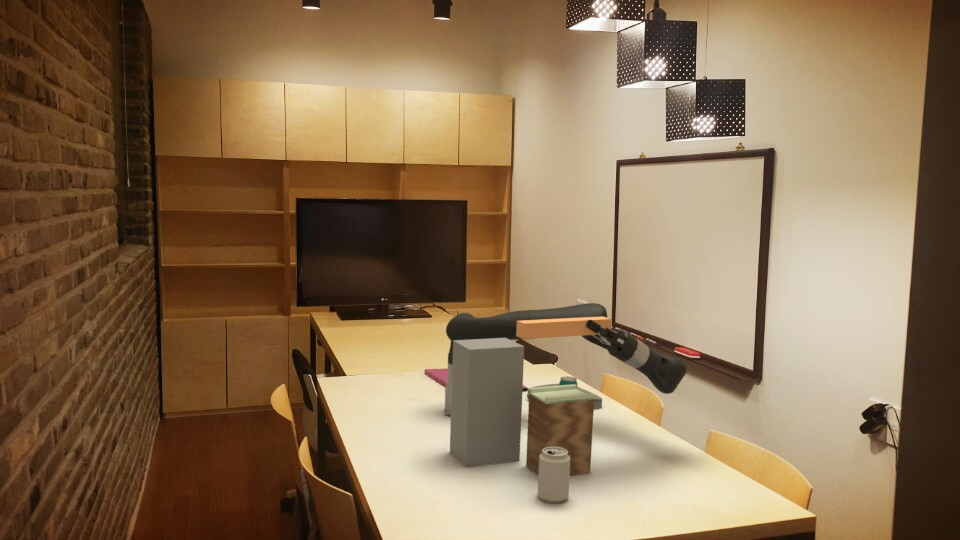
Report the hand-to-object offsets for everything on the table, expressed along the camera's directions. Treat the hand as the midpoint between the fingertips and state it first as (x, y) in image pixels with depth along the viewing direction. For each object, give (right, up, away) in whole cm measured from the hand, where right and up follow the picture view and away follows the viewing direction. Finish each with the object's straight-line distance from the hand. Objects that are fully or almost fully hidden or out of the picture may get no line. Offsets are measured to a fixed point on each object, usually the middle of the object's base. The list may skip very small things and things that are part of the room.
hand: (583, 321), depth 195 cm
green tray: (-6, -20, 0) cm, 21 cm away
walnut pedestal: (-7, -40, +2) cm, 40 cm away
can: (-10, -42, -16) cm, 46 cm away
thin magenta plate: (-29, -31, +87) cm, 96 cm away
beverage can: (0, -36, +41) cm, 54 cm away
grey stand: (-26, -38, +10) cm, 48 cm away
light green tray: (+1, -34, +64) cm, 73 cm away
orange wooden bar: (-5, -3, -2) cm, 7 cm away
